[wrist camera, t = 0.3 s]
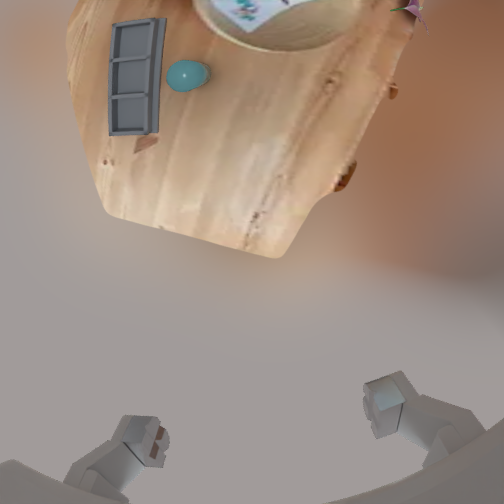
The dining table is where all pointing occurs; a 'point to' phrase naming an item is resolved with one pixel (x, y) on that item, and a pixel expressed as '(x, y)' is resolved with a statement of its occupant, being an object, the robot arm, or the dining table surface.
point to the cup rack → (135, 76)
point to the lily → (414, 10)
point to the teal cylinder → (187, 75)
